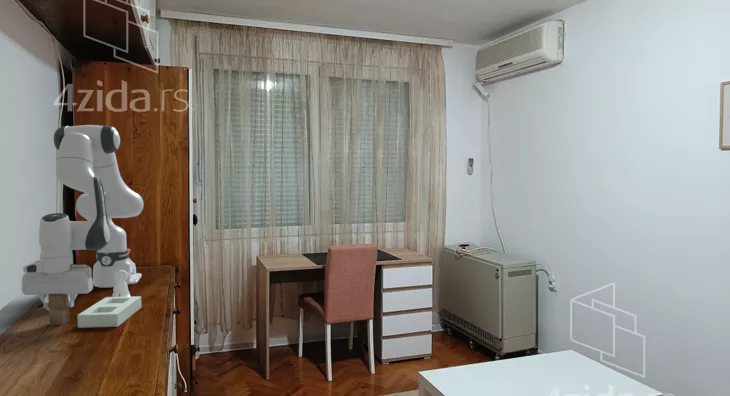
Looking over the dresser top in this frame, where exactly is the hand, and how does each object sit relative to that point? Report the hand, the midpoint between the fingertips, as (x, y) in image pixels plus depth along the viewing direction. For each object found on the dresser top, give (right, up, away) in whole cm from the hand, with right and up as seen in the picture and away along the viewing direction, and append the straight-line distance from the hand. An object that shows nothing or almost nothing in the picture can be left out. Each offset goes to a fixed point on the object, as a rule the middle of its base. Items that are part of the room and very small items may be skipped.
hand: (59, 307), depth 156 cm
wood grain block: (0, -5, 0) cm, 5 cm away
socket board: (+14, -5, +7) cm, 16 cm away
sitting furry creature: (+8, -4, +23) cm, 25 cm away
